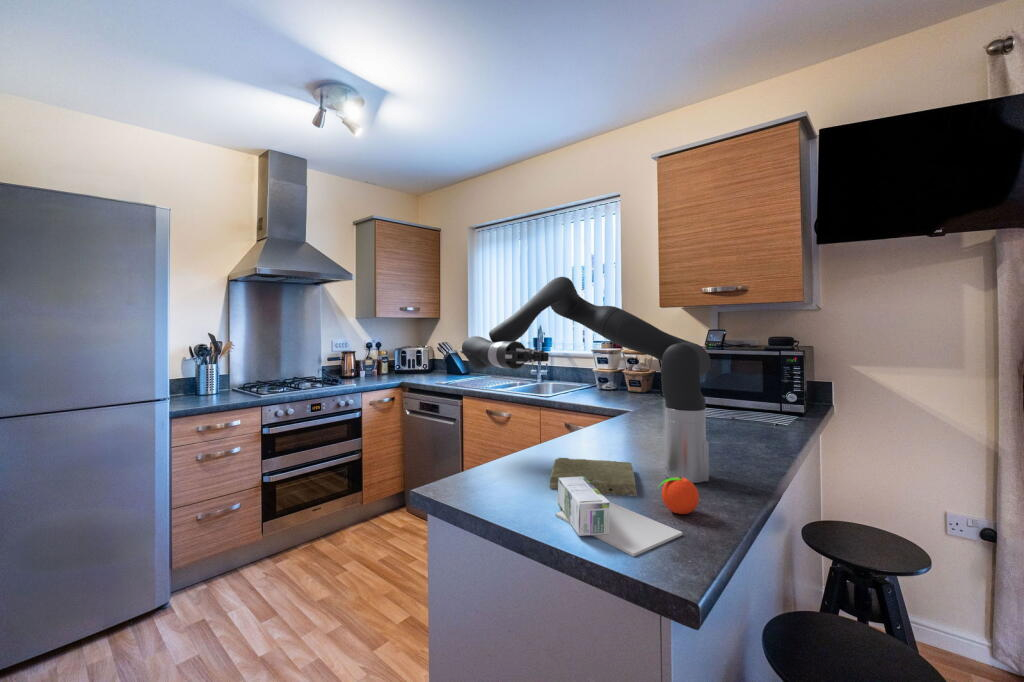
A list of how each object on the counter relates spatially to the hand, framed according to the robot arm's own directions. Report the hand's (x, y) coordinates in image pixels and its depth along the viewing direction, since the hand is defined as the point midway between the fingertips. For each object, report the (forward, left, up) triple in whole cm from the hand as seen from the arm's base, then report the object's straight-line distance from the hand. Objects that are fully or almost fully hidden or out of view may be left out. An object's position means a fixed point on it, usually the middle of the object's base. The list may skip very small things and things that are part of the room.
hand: (546, 357), depth 105 cm
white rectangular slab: (-13, +24, -30) cm, 41 cm away
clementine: (-26, +18, -30) cm, 44 cm away
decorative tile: (-11, 0, -31) cm, 33 cm away
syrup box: (-5, +16, -27) cm, 32 cm away
